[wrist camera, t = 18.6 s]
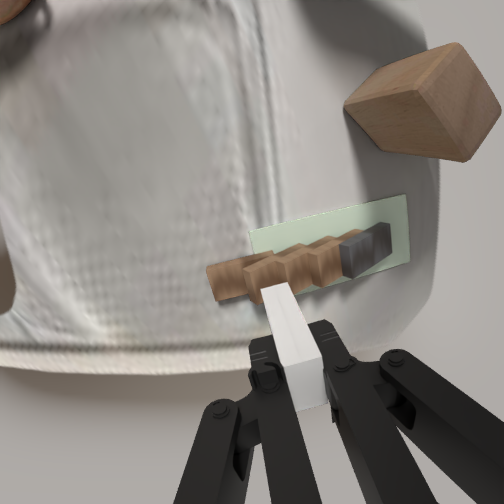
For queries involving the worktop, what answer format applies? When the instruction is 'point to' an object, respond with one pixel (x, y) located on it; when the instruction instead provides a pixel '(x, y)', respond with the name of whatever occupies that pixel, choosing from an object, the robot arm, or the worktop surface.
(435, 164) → the worktop surface
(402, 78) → the block
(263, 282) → the domino
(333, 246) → the domino
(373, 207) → the mat
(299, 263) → the domino
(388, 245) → the dark gray domino
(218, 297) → the domino end
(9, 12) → the ceramic jug
